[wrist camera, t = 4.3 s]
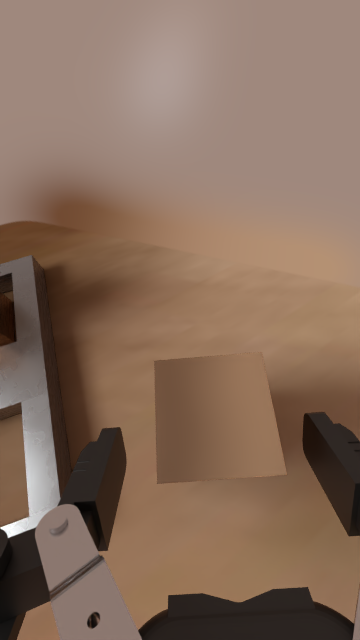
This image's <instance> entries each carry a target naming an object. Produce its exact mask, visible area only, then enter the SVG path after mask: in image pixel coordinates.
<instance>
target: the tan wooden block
mask: <svg viewBox="0 0 360 640" xmlns="http://www.w3.org/2000/svg"><path fill="white" fill-rule="evenodd" d="M154 366H155V409H156V452H157V484H162V483H176V482H191V481H205V480H220V479H235V478H249V477H264V476H278V475H287V472H286V467H285V462H284V457H283V452H282V447H281V443H280V438H279V433H278V428H277V423H276V418H275V413H274V409H273V404H272V399H271V394H270V389H269V384H268V379H267V374H266V370H265V365H264V360H263V355H262V352H255V353H243V354H231V355H219V356H207V357H195V358H183V359H171V360H159V361H154Z"/></svg>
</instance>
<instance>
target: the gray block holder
mask: <svg viewBox="0 0 360 640" xmlns="http://www.w3.org/2000/svg"><path fill="white" fill-rule="evenodd" d="M11 290H13V294H14V308H15V322H16V336H17V342H15V336H14V322H13V307H12V301H11V300H9V299H8V298H7V297H6V296H5V295H3V294H2V293H5V292H8V291H11ZM19 413H22V419H23V433H24V447H25V461H26V475H27V489H28V503H29V517H28V518H25V519H22V520H20V521H17V522H14V523H12V524H9V525H6V526H4V527H1V528H0V529H2V530H4V531H5V532H6V533H7V535H8V538H9V537H12V536H14V535H17V534H20V533H22V532H25V531H28V530H30V529H33V528H35V527H37V525H38V523H39V522H40V520H41V519H42V517H43V516H44V515H45V514H46V513H48V512H49V511H50V510H52V509H53V508H55V507H57V506H58V503H59V501H60V499H61V497H62V494H63V492H64V490H65V488H66V485H67V483H68V481H69V479H70V476H71V474H72V472H71V465H70V458H69V451H68V443H67V436H66V429H65V422H64V414H63V407H62V400H61V392H60V385H59V378H58V371H57V363H56V356H55V349H54V342H53V334H52V327H51V320H50V313H49V305H48V298H47V291H46V284H45V276H44V269H43V268H42V267H41V266H40V264H39V263H38V262H37V261H36V260H35V258H34V257H33V256H32V255H30V256H27V257H23V258H20V259H17V260H13V261H10V262H7V263H3V264H0V420H2V419H5V418H8V417H11V416H14V415H16V414H19Z"/></svg>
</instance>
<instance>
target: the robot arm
mask: <svg viewBox="0 0 360 640" xmlns="http://www.w3.org/2000/svg"><path fill="white" fill-rule="evenodd" d="M303 450H304V453H305V456H306V458H307V460H308V462H309V464H310V466H311V468H312V470H313V471H314V473H315V475H316V477H317V479H318V481H319V482H320V484H321V486H322V488H323V490H324V492H325V493H326V495H327V497H328V499H329V501H330V503H331V504H332V506H333V508H334V510H335V512H336V514H337V515H338V517H339V519H340V521H341V523H342V525H343V527H344V528H345V530H346V532H347V534H348V536H360V441H359V440H358V439H357V438H356V436H355V435H354V434H353V433H352V432H351V431H350V430H348V429H347V428H345V427H344V426H342V425H341V424H339V423H338V424H333V423H332V421H331V420H330V419H329V417H328V416H327V415H326V414H325V413H324V412H316V413H305V414H304V421H303ZM125 471H126V452H125V447H124V442H123V437H122V431H121V428H120V427H116V428H103V429H102V430H101V433H100V435H99V438H98V440H97V441H95V442H90V443H89V444H88V445H87V446H86V447H85V448H84V449H83V450H82V451H81V454H80V456H79V458H78V460H77V464H76V465H75V467H74V469H73V472H72V474H71V476H70V479H69V481H68V483H67V485H66V488H65V490H64V492H63V494H62V497H61V499H60V501H59V503H58V506H57V507H55V508H53V509H52V510H50V511H49V512H48V513H46V514H45V515H44V516H43V517H42V519H41V520H40V522H39V523H38V525H37V527H35V528H33V529H30V530H28V531H25V532H22V533H20V534H17V535H14V536H12V537H9V538H8V535H7V533H6V532H5V531H4V530H2V529H0V640H17V637H18V634H19V631H20V628H21V626H22V623H23V620H24V617H25V614H26V612H27V611H29V610H31V609H33V608H35V607H38V606H40V605H42V604H44V603H46V602H49V601H51V605H52V609H53V613H54V617H55V621H56V625H57V629H58V633H59V636H60V640H360V584H359V591H358V599H357V605H356V612H355V619H354V623H352V622H351V621H350V620H349V619H347V618H346V617H344V616H343V615H341V614H340V613H338V612H337V611H335V610H333V609H331V608H329V607H328V606H325V605H323V604H320V603H317V602H314V601H313V600H312V598H311V595H310V592H309V589H308V587H303V588H286V589H273V590H270V591H268V592H265V593H263V594H261V595H258V596H256V597H253V598H251V599H248V600H246V601H244V602H239V603H238V602H233V601H229V600H225V599H222V598H218V597H214V596H210V595H206V594H203V593H201V594H184V595H168V609H167V610H164V611H162V612H160V613H159V614H157V615H155V616H154V617H152V618H151V619H150V620H149V621H147V622H146V623H145V624H144V625H143V626H142V627H141V628H140V629H139V630H137V628H136V625H135V623H134V621H133V619H132V617H131V615H130V613H129V611H128V608H127V606H126V604H125V602H124V600H123V598H122V596H121V593H120V591H119V589H118V587H117V585H116V583H115V581H114V578H113V576H112V574H111V572H110V570H109V568H108V566H107V564H106V561H105V560H104V558H103V556H100V555H99V553H98V551H108V547H109V542H110V538H111V533H112V529H113V524H114V520H115V516H116V511H117V507H118V502H119V498H120V494H121V489H122V485H123V480H124V476H125Z"/></svg>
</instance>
